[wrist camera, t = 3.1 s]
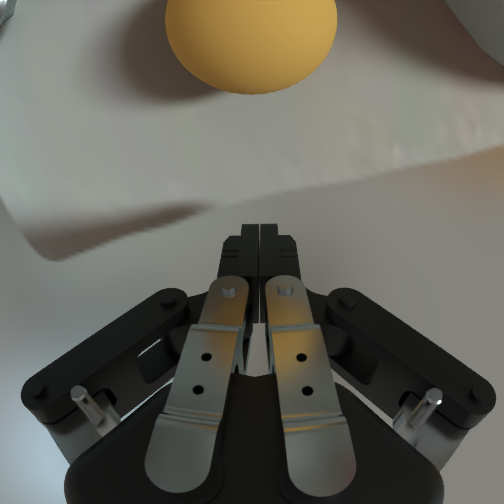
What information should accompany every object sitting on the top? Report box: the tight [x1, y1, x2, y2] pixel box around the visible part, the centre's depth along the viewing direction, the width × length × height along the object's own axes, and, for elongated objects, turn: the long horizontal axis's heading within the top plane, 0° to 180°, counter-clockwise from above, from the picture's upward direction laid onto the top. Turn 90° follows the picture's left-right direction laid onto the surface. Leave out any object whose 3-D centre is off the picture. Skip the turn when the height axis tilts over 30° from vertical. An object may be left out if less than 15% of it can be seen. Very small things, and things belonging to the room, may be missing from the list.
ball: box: [165, 0, 337, 95], centre depth 9 cm, size 6×6×6 cm
